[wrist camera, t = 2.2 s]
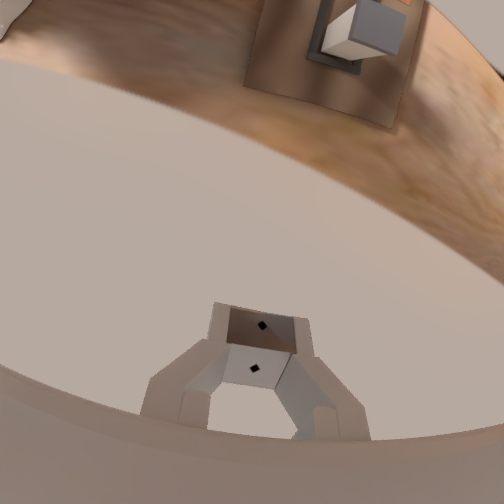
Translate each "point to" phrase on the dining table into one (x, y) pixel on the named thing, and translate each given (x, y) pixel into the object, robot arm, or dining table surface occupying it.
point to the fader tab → (365, 32)
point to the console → (329, 59)
